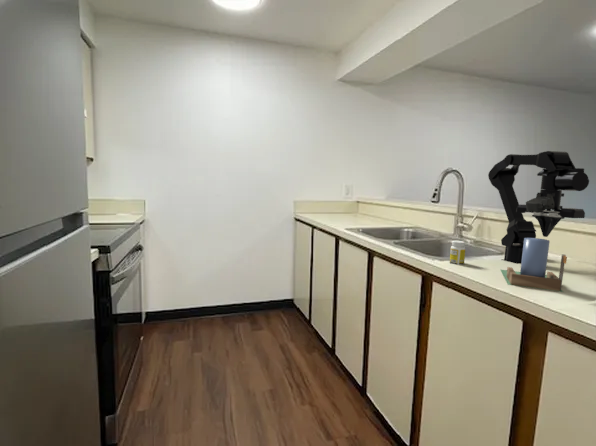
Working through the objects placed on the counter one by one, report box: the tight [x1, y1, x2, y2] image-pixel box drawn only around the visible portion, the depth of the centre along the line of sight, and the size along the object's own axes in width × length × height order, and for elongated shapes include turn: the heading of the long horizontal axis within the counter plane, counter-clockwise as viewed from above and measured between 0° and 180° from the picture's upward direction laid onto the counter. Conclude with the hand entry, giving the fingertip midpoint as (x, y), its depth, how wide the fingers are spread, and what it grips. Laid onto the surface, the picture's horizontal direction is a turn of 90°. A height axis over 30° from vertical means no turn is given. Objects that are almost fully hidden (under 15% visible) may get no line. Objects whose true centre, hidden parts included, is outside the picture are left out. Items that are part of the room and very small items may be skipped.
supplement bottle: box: [449, 240, 466, 266], centre depth 123 cm, size 5×5×8 cm
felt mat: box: [500, 269, 564, 293], centre depth 104 cm, size 19×13×1 cm
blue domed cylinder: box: [519, 237, 550, 277], centre depth 99 cm, size 6×6×13 cm
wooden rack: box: [506, 254, 568, 292], centre depth 99 cm, size 12×12×10 cm
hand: (545, 236), depth 115 cm, fingers closed
